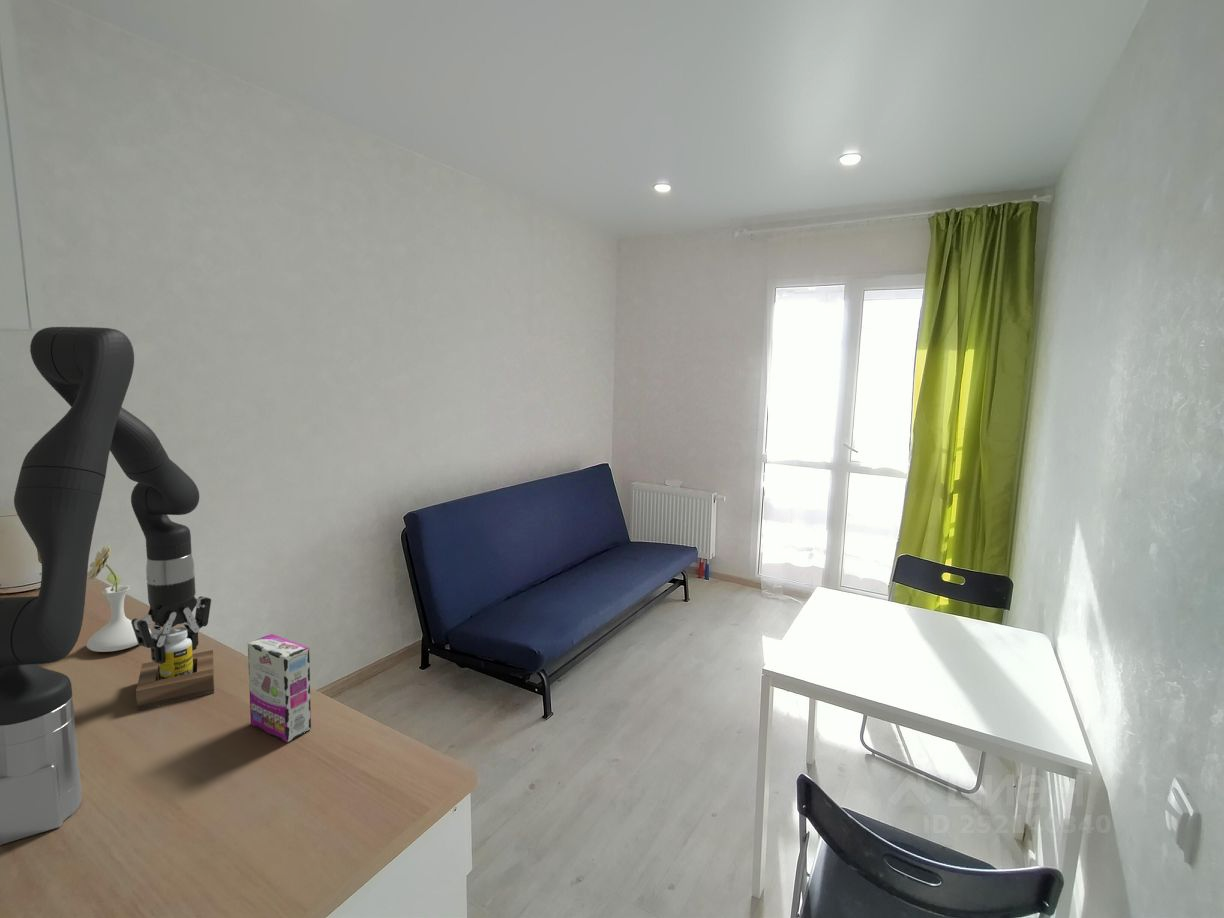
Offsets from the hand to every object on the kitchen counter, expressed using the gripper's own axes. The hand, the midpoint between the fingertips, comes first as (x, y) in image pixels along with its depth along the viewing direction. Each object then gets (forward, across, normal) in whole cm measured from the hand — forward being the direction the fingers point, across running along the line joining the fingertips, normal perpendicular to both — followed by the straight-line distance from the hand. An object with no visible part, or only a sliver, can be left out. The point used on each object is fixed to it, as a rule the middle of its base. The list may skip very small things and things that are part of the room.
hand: (176, 655), depth 114 cm
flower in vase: (+7, +6, +29) cm, 30 cm away
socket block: (+7, 0, 0) cm, 7 cm away
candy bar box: (+7, -1, -30) cm, 31 cm away
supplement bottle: (+5, 0, 0) cm, 5 cm away
